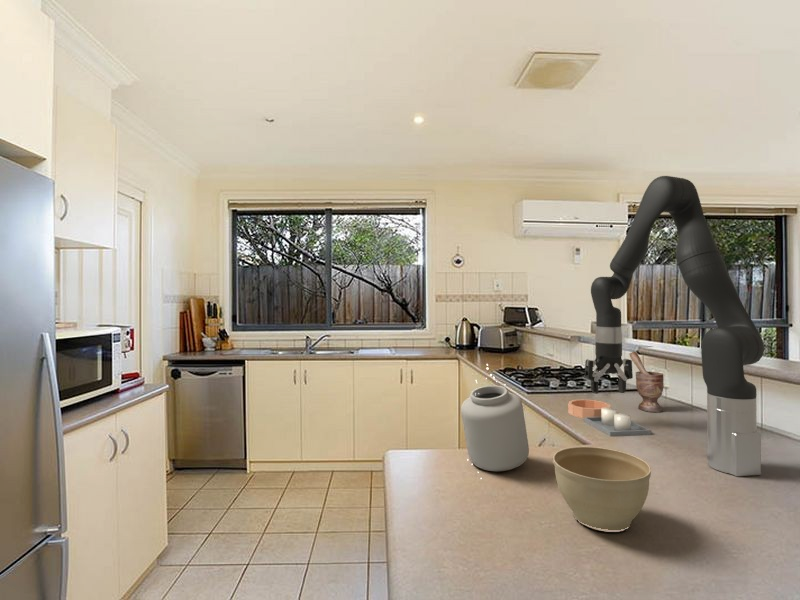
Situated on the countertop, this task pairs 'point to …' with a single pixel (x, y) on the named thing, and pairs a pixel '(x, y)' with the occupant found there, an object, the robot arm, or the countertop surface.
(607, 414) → the cream rounded lump
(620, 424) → the cream rounded piece
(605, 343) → the robot arm
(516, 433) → the jar
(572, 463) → the planter bowl
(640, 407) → the mortar and pestle
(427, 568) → the countertop surface
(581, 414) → the bowl
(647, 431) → the tray
